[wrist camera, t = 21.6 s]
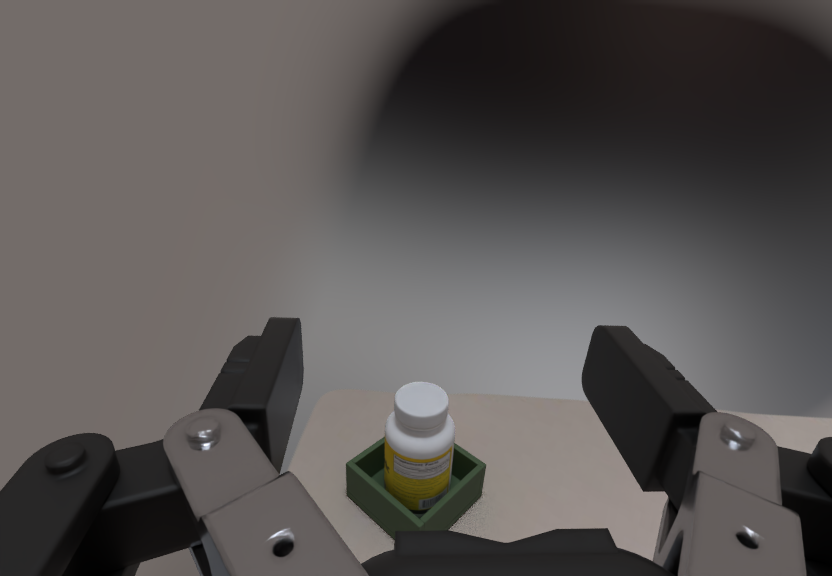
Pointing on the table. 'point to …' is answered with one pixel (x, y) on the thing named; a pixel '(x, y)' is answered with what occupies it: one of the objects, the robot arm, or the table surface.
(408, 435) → the supplement bottle
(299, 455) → the table surface
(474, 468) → the basket
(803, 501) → the robot arm
